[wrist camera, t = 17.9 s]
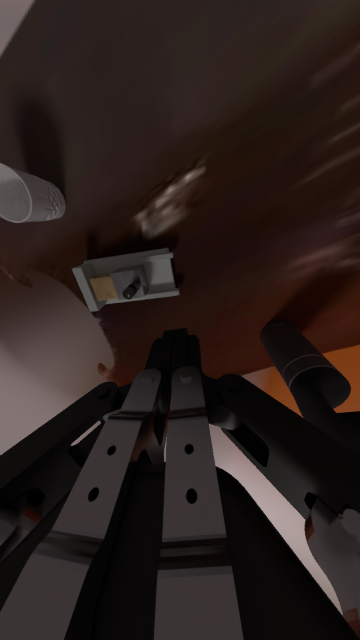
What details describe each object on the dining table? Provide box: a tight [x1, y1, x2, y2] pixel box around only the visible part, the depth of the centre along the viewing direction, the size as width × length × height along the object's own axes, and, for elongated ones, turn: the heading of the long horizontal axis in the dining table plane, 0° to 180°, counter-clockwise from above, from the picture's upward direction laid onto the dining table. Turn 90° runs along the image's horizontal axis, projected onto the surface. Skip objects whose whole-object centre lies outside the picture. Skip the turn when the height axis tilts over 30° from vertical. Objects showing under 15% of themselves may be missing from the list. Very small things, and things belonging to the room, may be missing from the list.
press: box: [72, 248, 179, 311], centre depth 41 cm, size 21×11×6 cm, turn 99°
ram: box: [110, 265, 149, 300], centre depth 37 cm, size 6×6×11 cm
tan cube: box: [90, 272, 118, 301], centre depth 41 cm, size 5×5×5 cm
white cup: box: [0, 163, 66, 223], centre depth 33 cm, size 8×8×10 cm
